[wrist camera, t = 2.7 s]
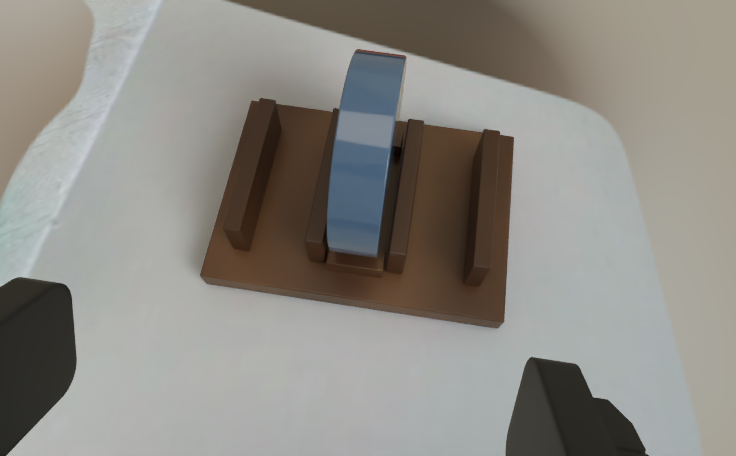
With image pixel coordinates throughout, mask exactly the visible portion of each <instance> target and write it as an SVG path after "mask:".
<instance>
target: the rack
mask: <svg viewBox="0 0 736 456" xmlns="http://www.w3.org/2000/svg"><path fill="white" fill-rule="evenodd" d="M338 114H339V109H336V108H334V109H333V112H330V111H323V110H316V109H308V108H301V107H294V106H287V105H280V104H276V101H275V100H270V99H263V98H260V100H259V102H258V101H251V104H250V108H249V111H248V114H247V118H246V121H245V125H244V128H243V131H242V135H241V138H240V141H239V145H238V148H237V152H236V155H235V158H234V162H233V165H232V169H231V172H230V175H229V179H228V182H227V186H226V189H225V192H224V196H223V199H222V203H221V206H220V209H219V213H218V216H217V220H216V223H215V226H214V230H213V233H212V237H211V240H210V243H209V247H208V250H207V254H206V257H205V260H204V264H203V267H202V270H201V274H200V276H201V277H202V278H203V280H204V281H205V282H206V283H207V284H213V285H219V286H226V287H232V288H239V289H245V290H252V291H258V292H265V293H271V294H277V295H284V296H290V297H297V298H303V299H310V300H316V301H323V302H329V303H336V304H342V305H349V306H355V307H362V308H368V309H375V310H381V311H388V312H394V313H401V314H407V315H413V316H420V317H426V318H433V319H439V320H446V321H452V322H459V323H465V324H472V325H478V326H485V327H491V328H499V327H500V326H501V325H502V323H503V322H504V314H505V295H506V277H507V258H508V239H509V220H510V201H511V183H512V164H513V145H514V137H510V136H503V135H500V131H494V130H487V129H484V130H483V133H482V132H474V131H467V130H460V129H453V128H446V127H438V126H431V125H424V121H420V120H413V119H409V120H408V122H402V121H399V126H398V134H397V141H396V148H395V155H394V162H393V168H392V175H391V182H390V188H389V195H388V201H387V208H386V214H385V220H384V226H383V232H382V238H381V244H380V249H379V254H378V257H377V258H370V257H364V256H357V255H350V254H344V253H337V252H332V251H330V250H329V248H328V243H327V204H328V190H329V179H330V170H331V161H332V153H333V146H334V139H335V132H336V126H337V119H338Z"/></svg>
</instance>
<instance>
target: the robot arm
mask: <svg viewBox="0 0 736 456" xmlns="http://www.w3.org/2000/svg"><path fill="white" fill-rule="evenodd" d="M75 370H76V346H75V334H74V321H73V308H72V297H71V293H70V290H69V288H68V287H67V286H66V285H64V284H61V283H55V282H49V281H42V280H36V279H29V278H23V277H18V278H15V279H13V280H11V281H9V282H8V283H6V284H5V285H3V286H1V287H0V456H6V455H7V454H8V453H9V452H10V451H11V450H12V449H13V448H14V447H15V446H16V445H17V444H18V443H19V441H20V440H21V439H22V438H23V437H24V436H25V435H26V434H27V433H28V432H29V431H30V430H31V429H32V428H33V427H34V426H35V425H36V424H37V423H38V422H39V421H40V420H41V419H42V418H43V417H44V415H45V414H46V413H47V412H48V411H49V410H50V409H51V408H52V407H53V406H54V405H55V404H56V403H57V402H58V401H59V400H60V399H61V398H62V397H63V396H64V394H65V393H66V392H67V390H68V388H69V386H70V384H71V382H72V380H73V377H74V374H75ZM645 450H646V449H645V447H644V446H643V444H642V442H641V440H640V438H639V436H638V434H637V432H636V430H635V428H634V426H633V424H632V423H631V422H630V421H629V420H628V419H627V418H626V417H625V416H624V415H623V414H622V413H621V412H620V411H619V410H618V409H617V408H616V407H615V406H614V405H613V404H612V403H611V402H610V401H608V400H606V399H600V398H593V396H592V394H591V392H590V390H589V388H588V385H587V383H586V381H585V379H584V377H583V374H582V372H581V370H580V368H579V366H578V365H576V364H573V363H566V362H560V361H553V360H547V359H540V358H534V357H531V358H529V360H528V361H527V363H526V365H525V368H524V372H523V376H522V380H521V383H520V387H519V391H518V395H517V399H516V402H515V406H514V410H513V414H512V418H511V422H510V425H509V429H508V434H507V441H506V456H649V455H647V454H645Z"/></svg>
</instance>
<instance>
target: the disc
mask: <svg viewBox="0 0 736 456" xmlns="http://www.w3.org/2000/svg"><path fill="white" fill-rule="evenodd" d="M406 61H407V57H406V56H404V55H397V54H389V53H382V52H374V51H367V50H359V49H358V50H356V51H355V53H354V54H353V56H352V59H351V62H350V65H349V68H348V71H347V75H346V79H345V84H344V88H343V93H342V98H341V103H340V108H339V114H338V119H337V126H336V132H335V139H334V146H333V153H332V161H331V170H330V179H329V190H328V204H327V243H328V248H329V250H330V251H332V252H337V253H344V254H350V255H357V256H364V257H370V258H377V257H378V254H379V249H380V244H381V238H382V232H383V226H384V220H385V214H386V208H387V201H388V195H389V188H390V182H391V175H392V168H393V162H394V155H395V148H396V141H397V134H398V126H399V119H400V112H401V104H402V96H403V89H404V80H405V72H406Z"/></svg>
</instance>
